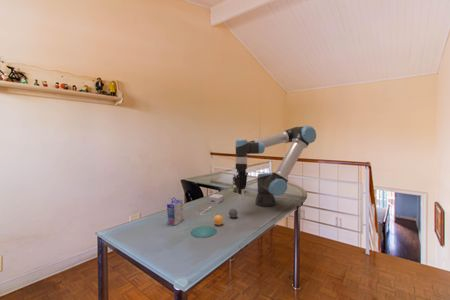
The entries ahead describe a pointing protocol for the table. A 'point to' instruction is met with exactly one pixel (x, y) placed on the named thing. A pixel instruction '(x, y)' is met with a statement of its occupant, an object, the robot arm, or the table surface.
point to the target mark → (203, 231)
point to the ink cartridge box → (175, 211)
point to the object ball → (218, 219)
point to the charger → (215, 198)
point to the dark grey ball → (233, 213)
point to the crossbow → (205, 211)
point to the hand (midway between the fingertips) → (241, 198)
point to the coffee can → (235, 190)
